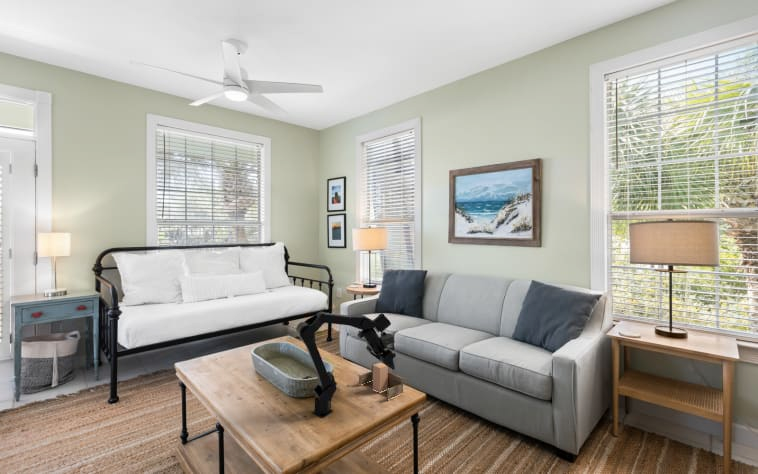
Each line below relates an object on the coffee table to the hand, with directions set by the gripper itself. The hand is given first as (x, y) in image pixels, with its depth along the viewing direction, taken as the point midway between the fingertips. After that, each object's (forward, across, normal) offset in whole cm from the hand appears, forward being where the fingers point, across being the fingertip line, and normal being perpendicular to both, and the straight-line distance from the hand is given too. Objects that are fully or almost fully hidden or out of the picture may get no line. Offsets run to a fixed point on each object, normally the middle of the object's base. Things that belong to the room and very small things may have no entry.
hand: (389, 365), depth 160 cm
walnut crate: (+12, +9, +8) cm, 17 cm away
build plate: (-3, +28, +34) cm, 44 cm away
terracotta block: (+12, +9, +8) cm, 17 cm away
